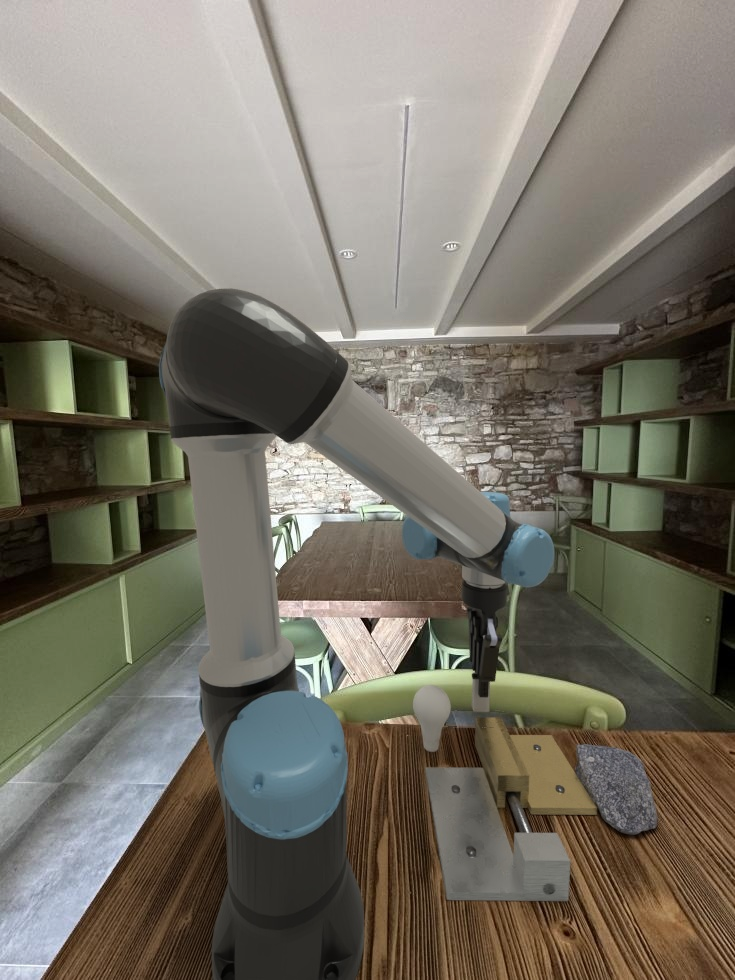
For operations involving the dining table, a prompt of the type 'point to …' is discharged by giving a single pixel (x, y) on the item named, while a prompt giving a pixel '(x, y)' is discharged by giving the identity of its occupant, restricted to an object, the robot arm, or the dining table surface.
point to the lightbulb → (431, 714)
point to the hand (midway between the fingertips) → (480, 709)
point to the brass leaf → (530, 771)
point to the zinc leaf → (491, 844)
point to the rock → (617, 787)
